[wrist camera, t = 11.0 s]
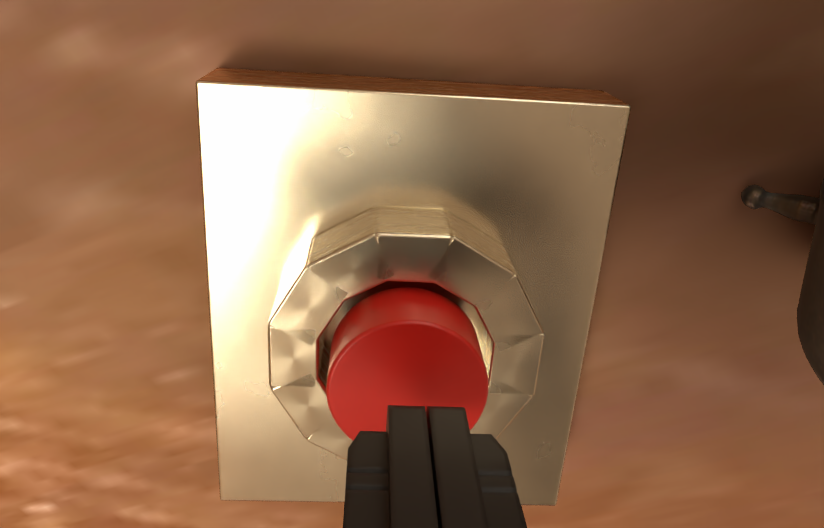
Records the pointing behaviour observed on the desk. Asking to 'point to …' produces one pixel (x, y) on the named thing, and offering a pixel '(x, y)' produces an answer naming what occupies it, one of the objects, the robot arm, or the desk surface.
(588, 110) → the button box
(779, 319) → the desk surface
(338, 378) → the button
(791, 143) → the desk surface
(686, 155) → the desk surface
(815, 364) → the alarm clock
